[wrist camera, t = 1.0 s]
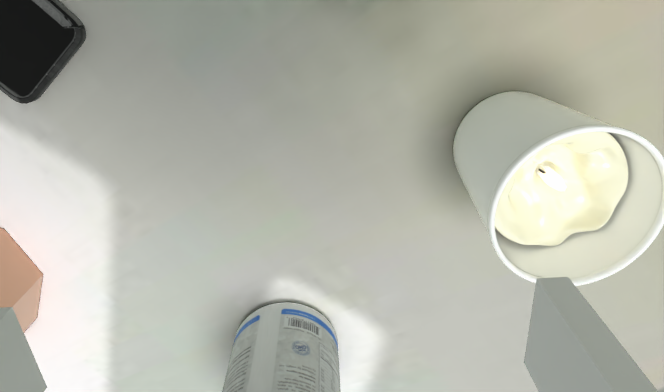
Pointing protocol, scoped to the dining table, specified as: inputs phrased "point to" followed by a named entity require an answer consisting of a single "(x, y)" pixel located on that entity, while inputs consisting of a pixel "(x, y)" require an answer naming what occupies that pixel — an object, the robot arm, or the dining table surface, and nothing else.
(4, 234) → the bowl
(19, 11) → the phone
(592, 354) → the robot arm
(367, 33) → the dining table surface
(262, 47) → the dining table surface
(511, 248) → the candle holder
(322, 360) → the supplement tub
